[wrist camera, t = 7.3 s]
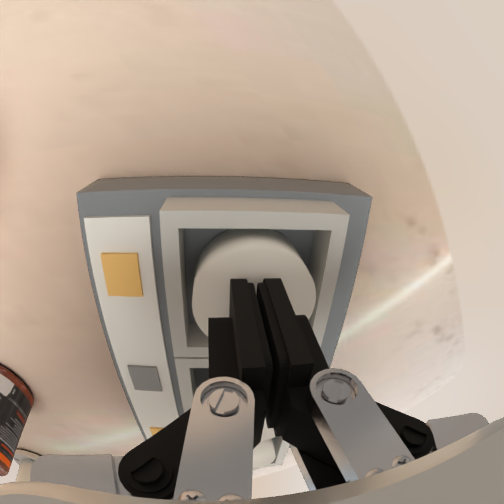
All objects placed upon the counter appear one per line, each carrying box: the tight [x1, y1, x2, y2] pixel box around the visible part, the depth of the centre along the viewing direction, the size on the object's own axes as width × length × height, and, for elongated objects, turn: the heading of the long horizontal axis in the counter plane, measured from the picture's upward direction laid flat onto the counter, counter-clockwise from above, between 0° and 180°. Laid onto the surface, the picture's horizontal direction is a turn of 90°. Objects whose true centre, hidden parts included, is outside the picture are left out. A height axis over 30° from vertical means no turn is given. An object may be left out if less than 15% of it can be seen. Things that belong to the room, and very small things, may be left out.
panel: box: [77, 176, 372, 467], centre depth 15 cm, size 20×12×4 cm, turn 177°
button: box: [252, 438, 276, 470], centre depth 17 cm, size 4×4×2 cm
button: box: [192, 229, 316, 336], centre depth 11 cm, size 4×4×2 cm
